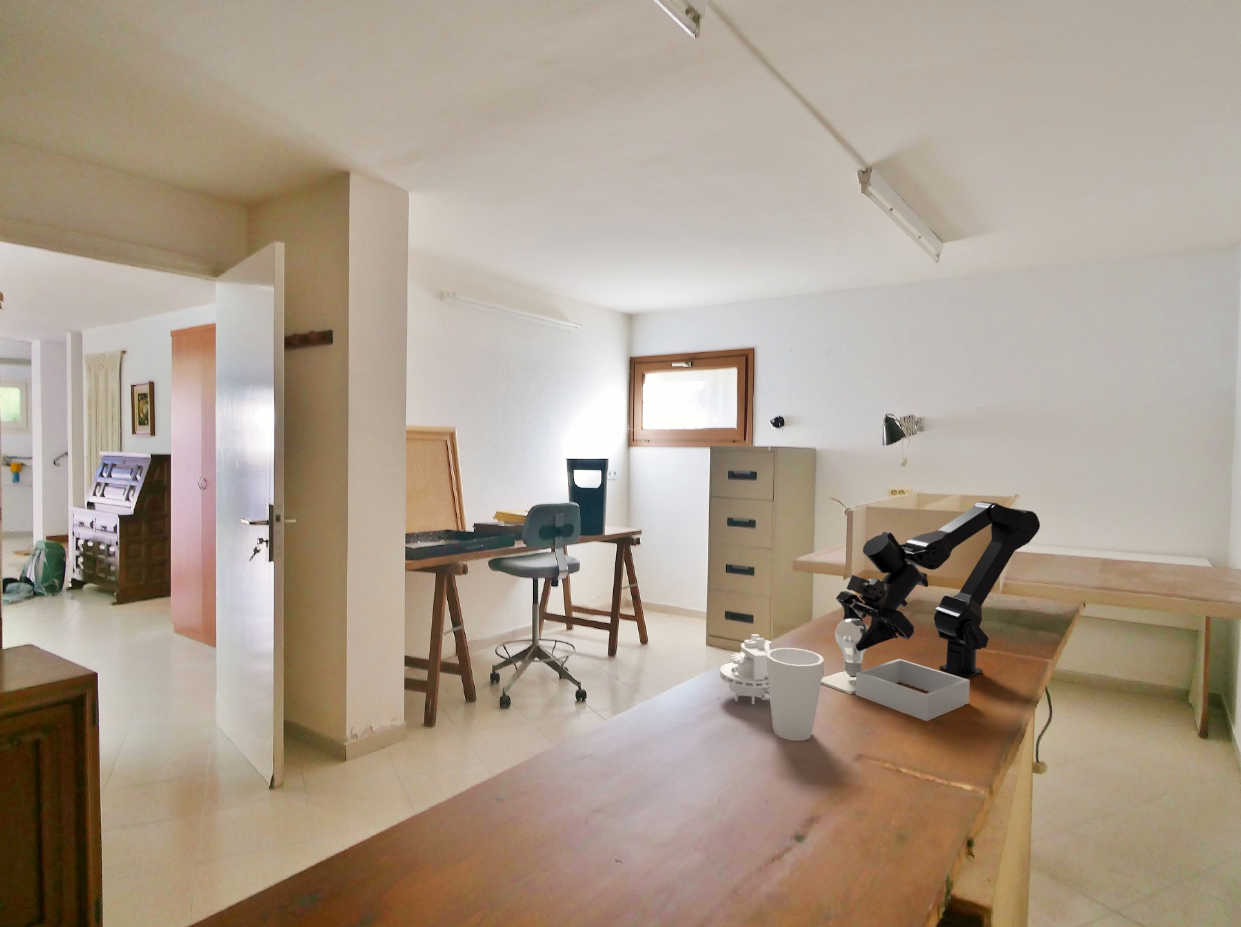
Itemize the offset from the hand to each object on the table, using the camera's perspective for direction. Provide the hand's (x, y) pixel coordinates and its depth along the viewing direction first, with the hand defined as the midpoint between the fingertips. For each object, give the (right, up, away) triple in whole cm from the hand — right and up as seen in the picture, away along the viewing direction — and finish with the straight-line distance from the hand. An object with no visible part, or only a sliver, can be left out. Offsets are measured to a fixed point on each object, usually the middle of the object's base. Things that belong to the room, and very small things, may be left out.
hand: (847, 644), depth 141 cm
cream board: (+1, -8, +1) cm, 8 cm away
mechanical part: (-21, -8, -9) cm, 25 cm away
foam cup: (-17, -9, -24) cm, 31 cm away
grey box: (+10, -8, -8) cm, 15 cm away
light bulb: (+1, -7, +1) cm, 7 cm away
